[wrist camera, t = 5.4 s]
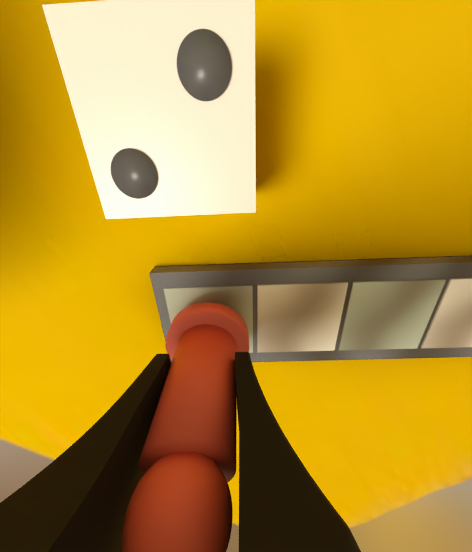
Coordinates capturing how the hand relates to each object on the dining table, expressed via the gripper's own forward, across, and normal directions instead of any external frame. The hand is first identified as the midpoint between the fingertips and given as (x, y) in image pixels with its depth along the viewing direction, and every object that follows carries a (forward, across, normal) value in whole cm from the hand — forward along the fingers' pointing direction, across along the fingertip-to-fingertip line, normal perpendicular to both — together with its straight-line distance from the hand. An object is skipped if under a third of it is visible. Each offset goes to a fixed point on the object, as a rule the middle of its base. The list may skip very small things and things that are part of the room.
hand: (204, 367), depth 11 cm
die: (+5, 0, -10) cm, 11 cm away
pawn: (+2, 0, 0) cm, 2 cm away
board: (+4, -8, 0) cm, 9 cm away
